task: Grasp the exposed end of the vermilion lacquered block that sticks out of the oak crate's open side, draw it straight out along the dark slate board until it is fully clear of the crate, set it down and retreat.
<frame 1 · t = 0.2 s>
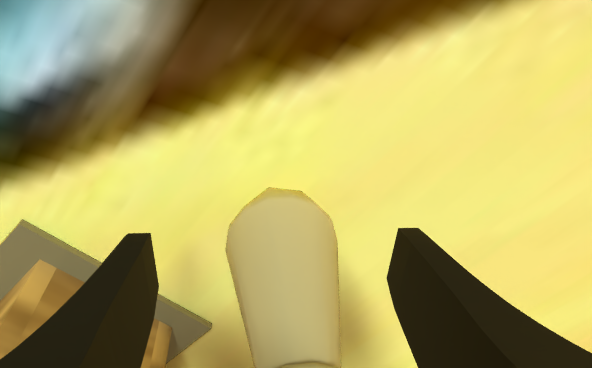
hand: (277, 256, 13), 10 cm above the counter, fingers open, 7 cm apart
oak crate: (60, 342, 27), resting on slate board
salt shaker: (278, 214, 25), on the counter
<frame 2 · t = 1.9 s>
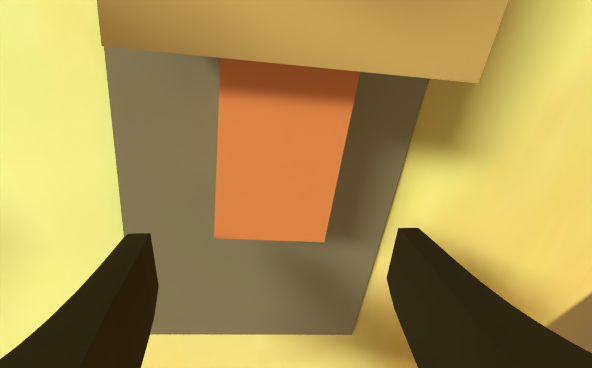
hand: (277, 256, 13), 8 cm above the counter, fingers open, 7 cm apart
vermilion block: (277, 49, 17), resting on slate board
slate board: (273, 82, 18), on the counter
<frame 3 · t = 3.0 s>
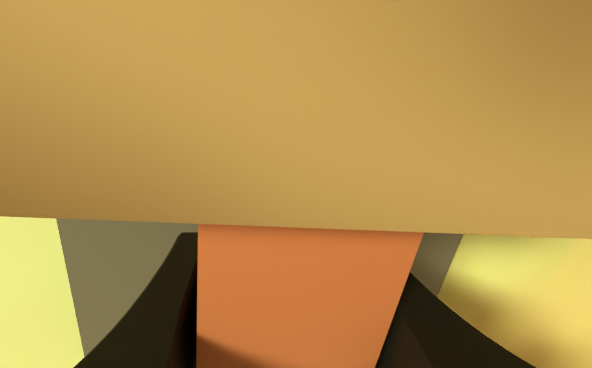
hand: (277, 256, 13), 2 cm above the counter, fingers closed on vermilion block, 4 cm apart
vermilion block: (289, 112, 12), resting on slate board, touching gripper
slate board: (282, 153, 13), on the counter
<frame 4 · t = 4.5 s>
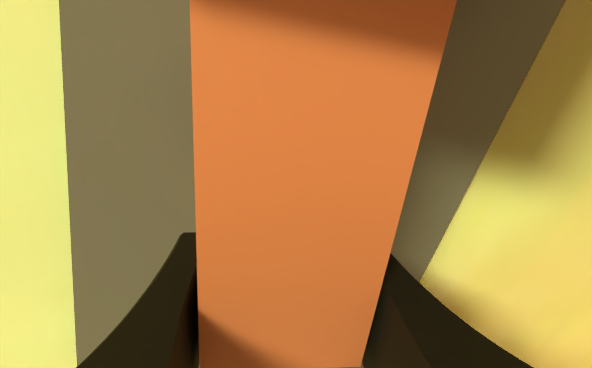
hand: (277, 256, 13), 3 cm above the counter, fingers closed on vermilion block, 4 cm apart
vermilion block: (283, 89, 12), point 1 cm above the counter, touching gripper, slate board
slate board: (312, 47, 12), on the counter
when the fingers open (3 cm above the counter, at t = 5.7 s): vermilion block stays where it is, resting on slate board.
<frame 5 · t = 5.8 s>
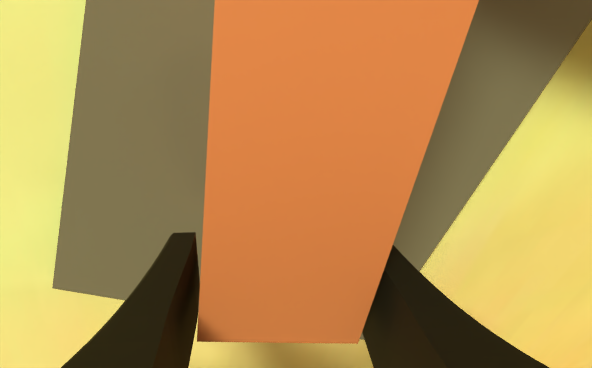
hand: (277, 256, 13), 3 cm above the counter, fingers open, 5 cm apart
vermilion block: (293, 61, 12), resting on slate board
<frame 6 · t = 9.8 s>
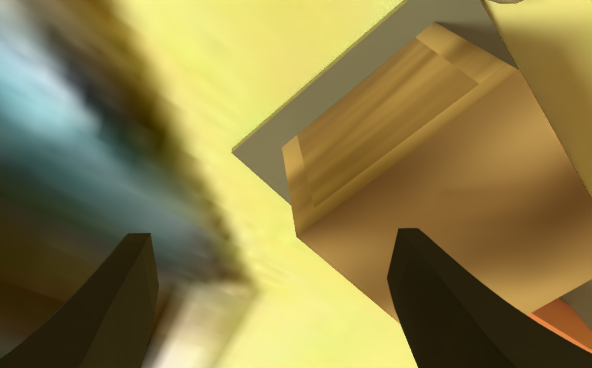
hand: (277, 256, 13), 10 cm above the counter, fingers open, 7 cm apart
vermilion block: (503, 295, 29), resting on slate board
slate board: (481, 243, 27), on the counter
oak crate: (413, 161, 23), resting on slate board
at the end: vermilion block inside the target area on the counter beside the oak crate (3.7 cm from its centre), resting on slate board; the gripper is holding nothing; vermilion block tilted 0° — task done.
